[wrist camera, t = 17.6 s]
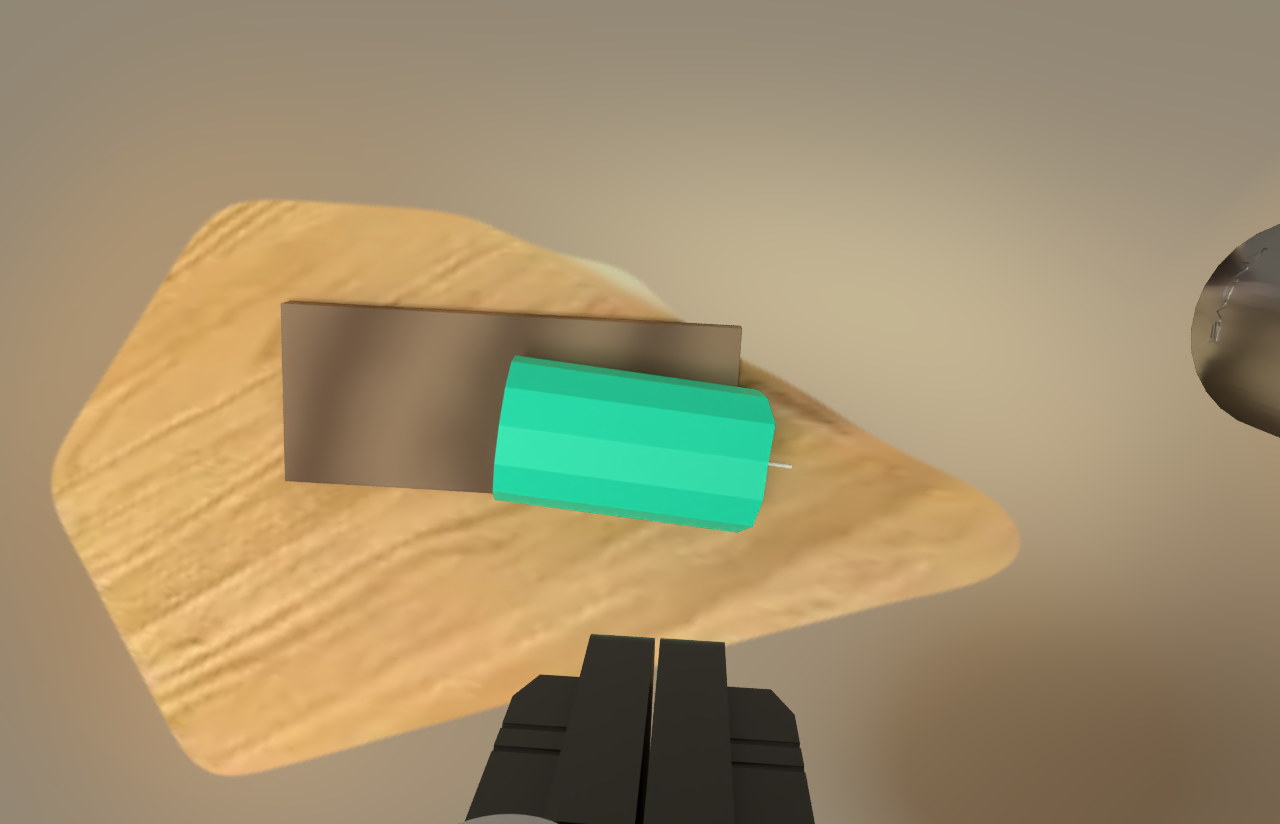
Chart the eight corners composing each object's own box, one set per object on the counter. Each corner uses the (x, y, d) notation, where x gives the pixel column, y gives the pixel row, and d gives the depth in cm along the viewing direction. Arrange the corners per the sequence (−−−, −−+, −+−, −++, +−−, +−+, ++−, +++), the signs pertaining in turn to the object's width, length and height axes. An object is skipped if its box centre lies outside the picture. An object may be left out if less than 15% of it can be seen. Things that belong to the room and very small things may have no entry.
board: (740, 325, 44) (741, 328, 43) (728, 500, 46) (729, 507, 45) (289, 301, 44) (280, 303, 43) (293, 474, 46) (285, 480, 45)
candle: (492, 453, 37) (810, 497, 38) (517, 325, 40) (809, 367, 41) (493, 524, 42) (773, 562, 43) (515, 405, 45) (776, 442, 46)
